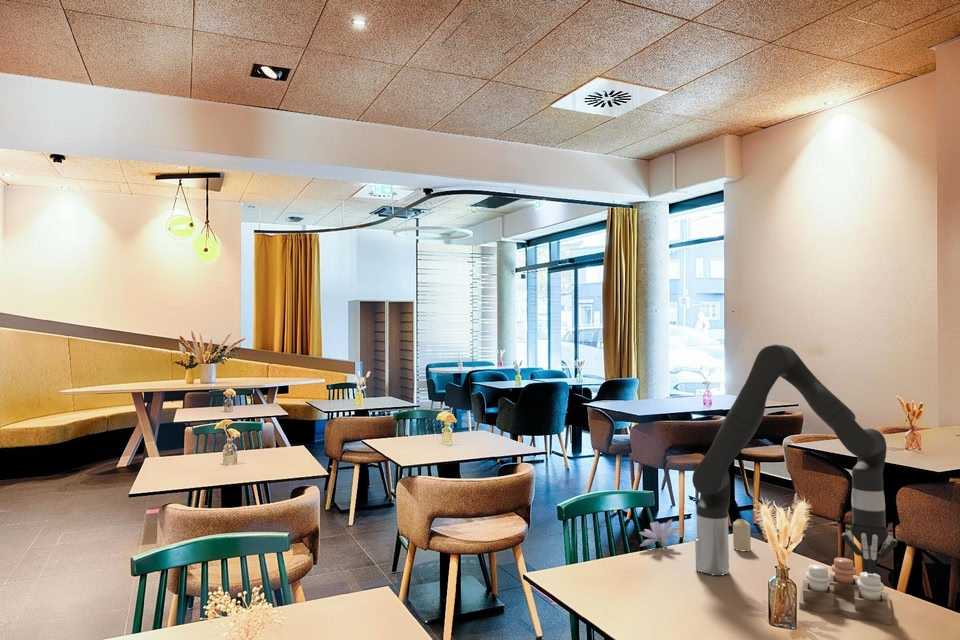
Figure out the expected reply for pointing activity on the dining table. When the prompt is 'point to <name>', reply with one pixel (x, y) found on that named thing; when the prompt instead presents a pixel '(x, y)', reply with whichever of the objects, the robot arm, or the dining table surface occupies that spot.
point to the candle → (741, 535)
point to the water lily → (658, 533)
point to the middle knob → (843, 570)
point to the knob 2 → (870, 586)
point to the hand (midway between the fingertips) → (870, 572)
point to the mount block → (846, 602)
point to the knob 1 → (818, 578)
